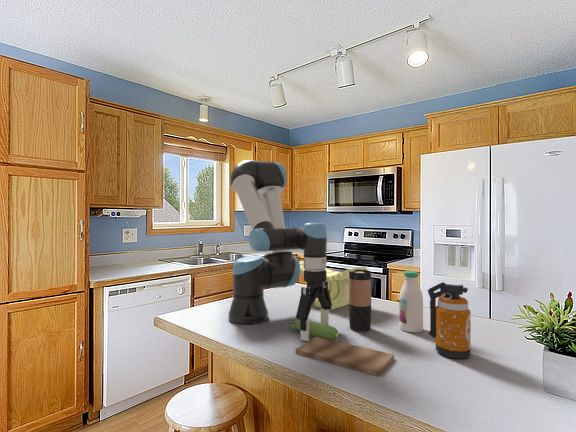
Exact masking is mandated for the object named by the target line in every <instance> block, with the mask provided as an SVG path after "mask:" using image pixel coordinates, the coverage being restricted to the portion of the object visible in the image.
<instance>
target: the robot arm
mask: <svg viewBox="0 0 576 432" xmlns="http://www.w3.org/2000/svg"><path fill="white" fill-rule="evenodd" d="M287 178H288V176H287V171H286V169H285V167H284V165H283V164H282V163H280V162H275V161H271V160H270V161H264V160H253V159H246V160H242V161H241V162H239V163H237V164H236V165H235V166H234V168H233V169H232V171H231V173H230V179H229V181H230V186H231V189H232V190H233V192H234V193H236V194H237V196H238V200H239V201H240V204H241V206H242V209H243V211H244V214H245V216H246V219H247V221H248V223H249V226H250V228H251V230H250V232H249V235H248V241H249V246H250V249H251V250H253V251H254V252H265V254H264V255H263V256H262V255H249V256H244V257H239V258H237V259H236V260H235V261H233V266H232V293H233V294H232V301H231V305H230V309H229V311H228V321H229V322H231V323H233V324H239V325H253V324H254V325H255V324H258V323H262V322H265V321H266V320H268V319H269V310H268V308H267V304H266V301H265V298H264V294H265V293H264V290H270V289H278V288H287V287H292V286H294V285H296V284H297V282H298V281H299V278H300V277H301V276H300V274H301V271H300V263H299V261H300V260H299V259H298V258H297V257H296V256H294V254H293V251H292V250H303V261H304V269H305V270H304V274H303V281H304V282H305V283H306V287H302V286H301V288H300V296H299V302H298V306H297V310H296V315H295V318H296V319H299V320H300V329H301V331H300V341H303V342H304V341H306V342H308V341H310V335H309V321H310V320H309V316H310V313H311V310H312V307H313V306H312V305H313V302H314V301H315V300H316V298H318V300H319V302H320V305H321V307H322V308H320V323H322V324H326V325H330V321H329V319H330V317H329V313H330V311H332V310H333V309H332V307H330V306H332V302H331V298H330V293H329V289H328V282H327V281H326V280H327V271H326V270H325V269H326V268H327V263H328V260H327V241H328V240H327V238H328V237H327V236H328V235H327V225H326V224H325V223H324V222H305V223H304V225H303V227H299V226H298V227H295V226H294V227H286V225H285V218H284V212H283V211H284V210H283V205H282V197H281V194H282V193H283V191H284V188H285V187H286V185H287ZM328 302H329V303H328ZM328 309H329V310H328ZM331 309H332V310H331ZM296 319H295V320H296Z"/></svg>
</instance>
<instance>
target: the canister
mask: <svg viewBox="0 0 576 432" xmlns="http://www.w3.org/2000/svg"><path fill="white" fill-rule="evenodd" d="M468 289H469V288H468V287H464V284H459V285H458V284H448V283H445V282H444V281H442V282H439V283H438V284H436V285H434V286H432V287H429V288H428V290H427V293H428V295H429V299H430V301H429V309H430V310H429V311H430V312H429V314H430V315H429V316H430V317H429V318H430V319H429V320H430V321H429V322H430V323H429V324H430V325H429V326H430V327H429V329H430V330H428V335H429V336H431V337H432V338H434V339H435V350H436V352H438V353H439V354H441V355H443V356H445V357H448V358H451V359H452V358H453V359H463V358H468V357H470V356H471V341H472V340H471V336H472V335H471V334H472V333H471V327H472V325H471V319H472V318H471V310H470V309H469V301H468V299H467V298H465V297H463V296H462V295H463V294H464V293H467V292H468ZM438 290H439V291H438ZM437 298H438V299H437ZM436 304H437V305H436Z"/></svg>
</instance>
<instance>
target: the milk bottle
mask: <svg viewBox="0 0 576 432" xmlns="http://www.w3.org/2000/svg"><path fill="white" fill-rule="evenodd" d="M403 276H404V277H403V278H404V281H403V284H402V287H401V288H400V292H399V303H398V304H399V312H398V314H399V315H398V317H399V319H398V321H399V328H400V329H401V331H403V332H406V333H407V332H408V333H422V332H423V331H424V296H423V292H422V290H421V287H420V285H419V281H418V279H419V272H418V271H415V270H405V271H404V272H403Z"/></svg>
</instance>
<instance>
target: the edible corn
mask: <svg viewBox="0 0 576 432" xmlns="http://www.w3.org/2000/svg"><path fill="white" fill-rule="evenodd" d="M288 325H289V327H290V328H292V329H294V330H297V331H298V332H299V331H300V332H301V329H300V320H299V319H296V317H294V323H289V324H288ZM309 336H312V337H313V338H314V337H316V336H317V337H321V338H326V339H330V340H334V341H336V338H339V331H338V329H337V328H335V327H334V326H332V325H330V324H329V325H326V324H322V323H321V322H316V321H311V320H309Z"/></svg>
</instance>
